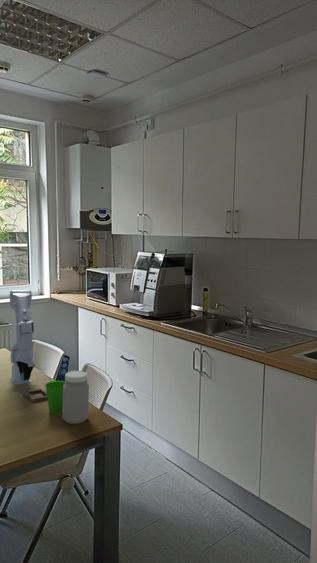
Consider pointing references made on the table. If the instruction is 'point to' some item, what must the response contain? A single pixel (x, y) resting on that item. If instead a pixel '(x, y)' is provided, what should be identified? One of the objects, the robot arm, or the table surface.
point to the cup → (55, 396)
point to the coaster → (23, 391)
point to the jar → (75, 397)
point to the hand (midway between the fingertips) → (25, 378)
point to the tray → (36, 395)
